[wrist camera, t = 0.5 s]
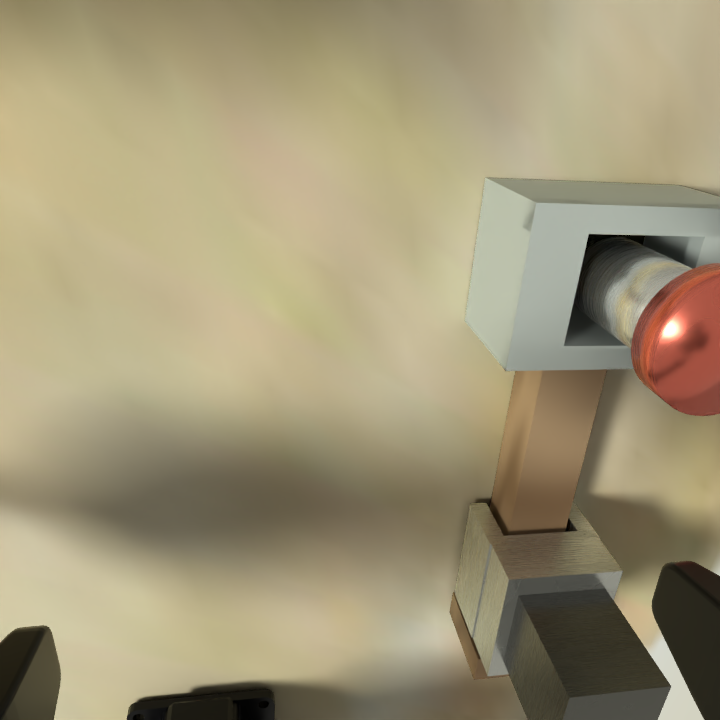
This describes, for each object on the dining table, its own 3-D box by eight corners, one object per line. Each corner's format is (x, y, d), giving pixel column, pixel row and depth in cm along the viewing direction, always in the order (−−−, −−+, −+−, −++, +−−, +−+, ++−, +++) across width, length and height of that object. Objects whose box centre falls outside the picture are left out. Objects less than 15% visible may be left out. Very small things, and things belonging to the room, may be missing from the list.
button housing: (641, 320, 23) (713, 367, 20) (464, 321, 22) (505, 370, 18) (679, 185, 21) (766, 210, 17) (485, 177, 20) (536, 202, 16)
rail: (538, 604, 29) (572, 669, 26) (449, 611, 28) (473, 679, 25) (610, 320, 23) (666, 361, 20) (498, 321, 22) (539, 362, 19)
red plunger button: (645, 330, 20) (767, 413, 15) (543, 331, 20) (637, 417, 15) (675, 221, 19) (822, 276, 14) (566, 218, 18) (679, 274, 13)
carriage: (548, 585, 28) (651, 767, 21) (454, 592, 27) (527, 784, 20) (570, 498, 26) (694, 666, 19) (470, 503, 25) (557, 681, 18)
